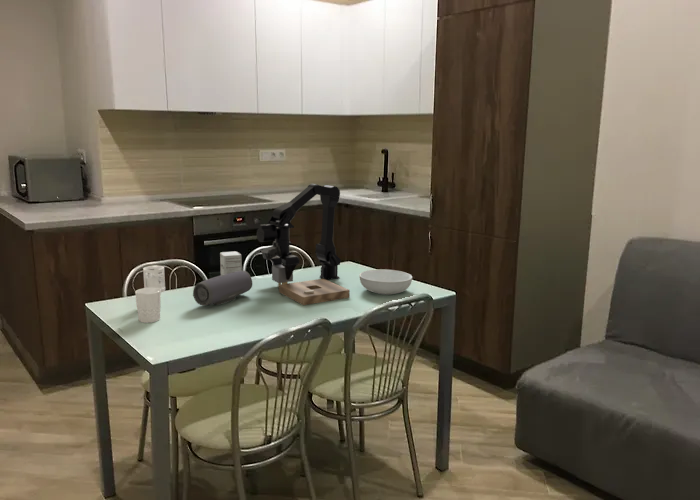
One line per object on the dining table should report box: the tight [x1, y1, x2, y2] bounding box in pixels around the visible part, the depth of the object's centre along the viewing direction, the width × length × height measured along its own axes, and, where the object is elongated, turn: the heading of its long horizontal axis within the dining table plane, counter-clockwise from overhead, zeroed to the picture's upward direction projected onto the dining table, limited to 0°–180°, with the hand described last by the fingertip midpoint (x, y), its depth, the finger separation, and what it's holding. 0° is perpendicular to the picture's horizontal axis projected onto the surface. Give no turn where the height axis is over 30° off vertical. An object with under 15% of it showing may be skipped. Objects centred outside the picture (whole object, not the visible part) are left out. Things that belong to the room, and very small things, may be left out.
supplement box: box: [219, 250, 243, 275], centre depth 242 cm, size 7×7×13 cm
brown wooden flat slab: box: [278, 278, 351, 306], centre depth 228 cm, size 20×20×4 cm
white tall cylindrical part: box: [142, 264, 166, 293], centre depth 210 cm, size 7×7×15 cm
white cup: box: [134, 287, 162, 324], centre depth 195 cm, size 8×8×10 cm
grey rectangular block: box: [271, 263, 294, 288], centre depth 238 cm, size 6×6×8 cm
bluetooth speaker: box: [192, 270, 253, 307], centre depth 217 cm, size 23×9×10 cm, turn 149°
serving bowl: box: [359, 268, 413, 296], centre depth 233 cm, size 21×21×7 cm
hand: (282, 277), depth 239 cm, fingers open, 9 cm apart
